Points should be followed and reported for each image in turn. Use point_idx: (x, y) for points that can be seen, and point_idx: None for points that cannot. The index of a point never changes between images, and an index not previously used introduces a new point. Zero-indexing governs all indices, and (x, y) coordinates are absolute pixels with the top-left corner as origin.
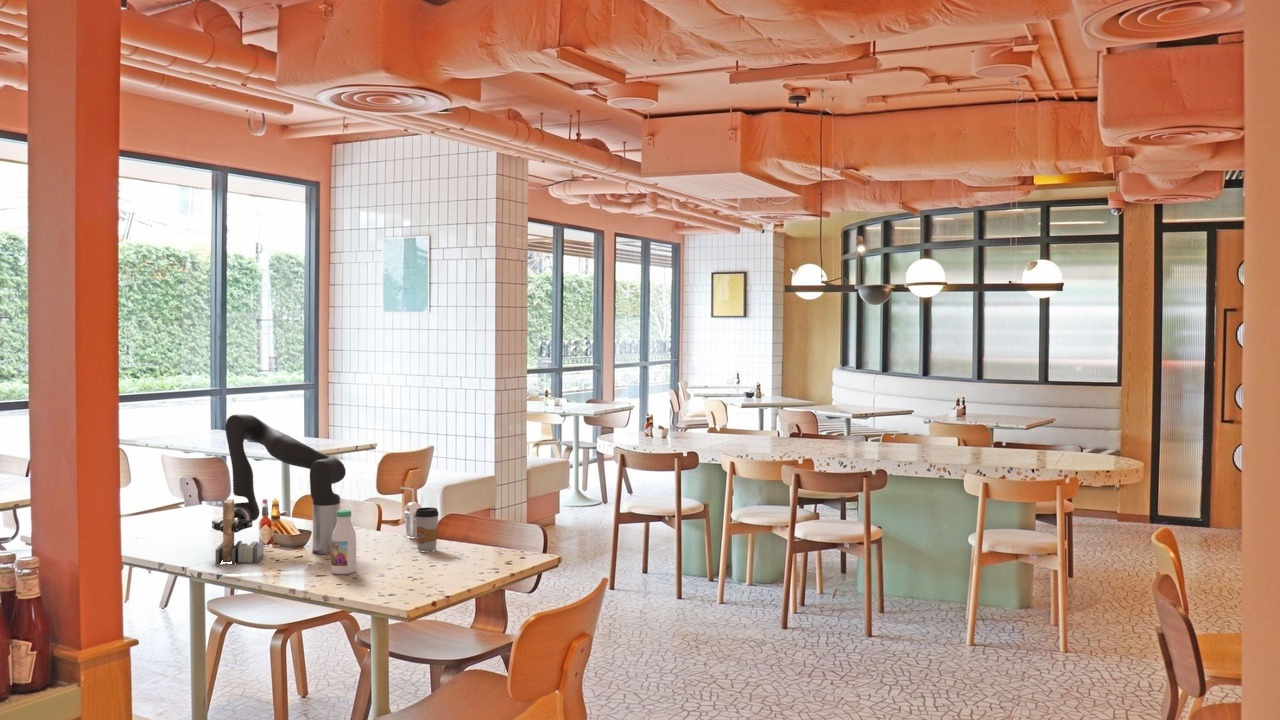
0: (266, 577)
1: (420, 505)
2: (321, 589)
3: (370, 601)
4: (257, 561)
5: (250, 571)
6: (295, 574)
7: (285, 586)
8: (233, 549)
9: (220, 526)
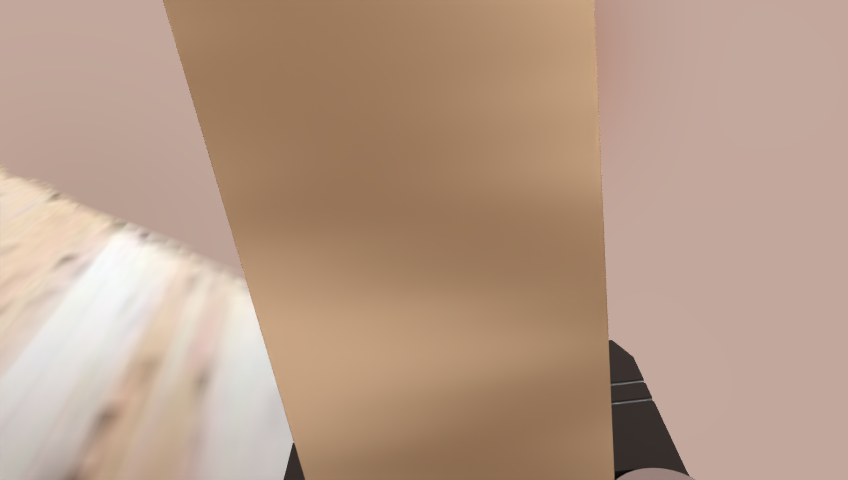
0: (203, 345)
1: None
2: (63, 236)
3: (12, 186)
4: None
5: (275, 462)
6: (36, 390)
7: (163, 252)
8: None
9: (613, 353)
